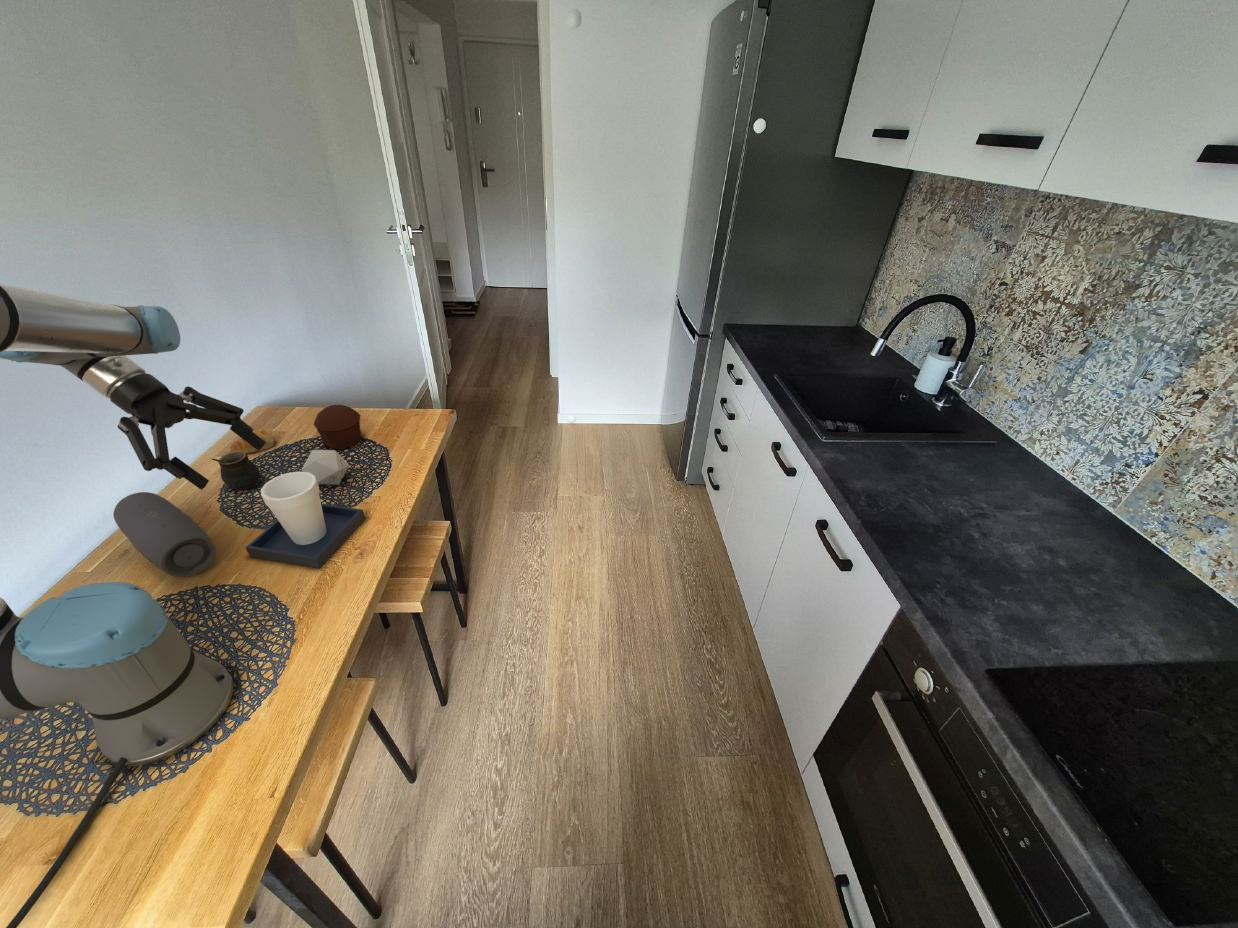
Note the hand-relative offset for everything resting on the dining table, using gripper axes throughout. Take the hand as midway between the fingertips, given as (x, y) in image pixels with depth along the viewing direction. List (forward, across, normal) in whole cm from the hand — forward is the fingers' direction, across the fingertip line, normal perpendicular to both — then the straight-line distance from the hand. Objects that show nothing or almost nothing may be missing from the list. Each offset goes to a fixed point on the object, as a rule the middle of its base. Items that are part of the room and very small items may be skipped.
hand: (235, 464), depth 96 cm
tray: (+19, 0, +5) cm, 20 cm away
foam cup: (+19, 0, +5) cm, 19 cm away
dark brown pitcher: (+1, +12, +24) cm, 27 cm away
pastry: (-7, +27, +31) cm, 42 cm away
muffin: (+8, +36, +17) cm, 40 cm away
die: (+13, +19, +11) cm, 25 cm away
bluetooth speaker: (+4, -10, +21) cm, 23 cm away
